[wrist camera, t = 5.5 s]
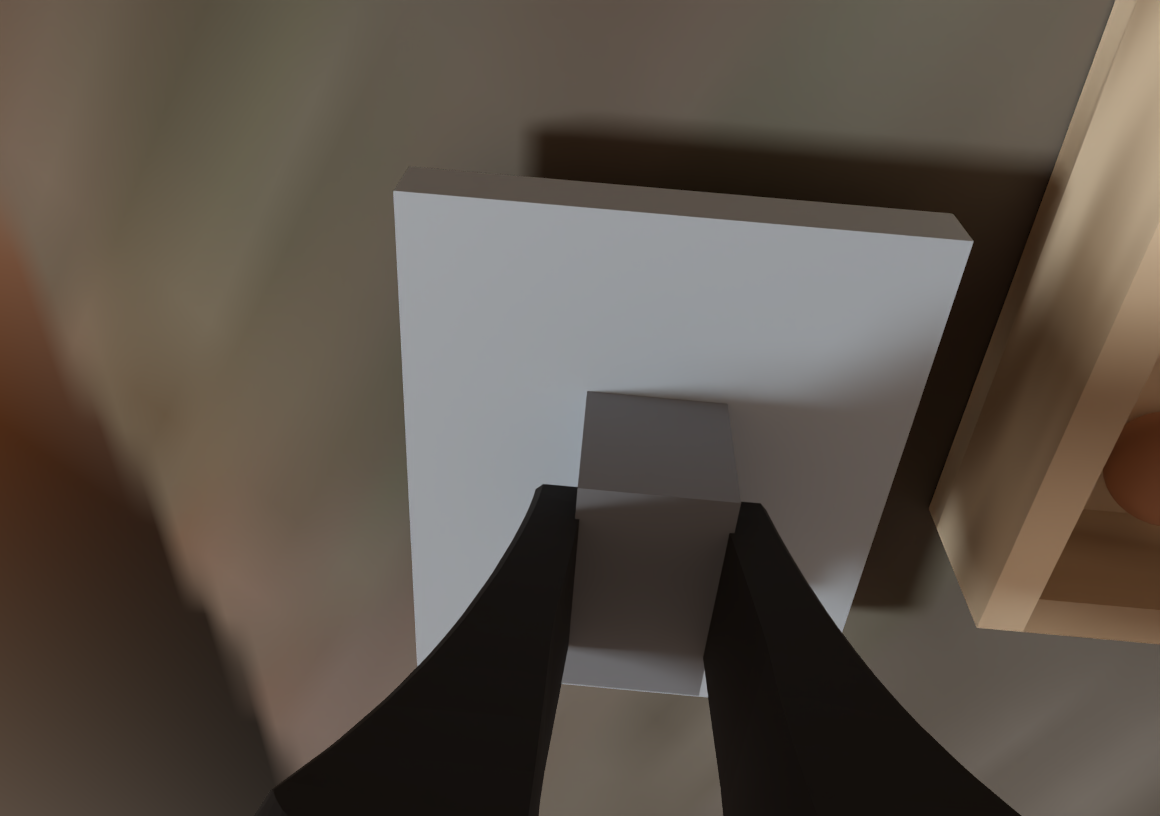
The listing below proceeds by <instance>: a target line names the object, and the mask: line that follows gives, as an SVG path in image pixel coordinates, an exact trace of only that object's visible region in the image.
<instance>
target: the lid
mask: <svg viewBox="0 0 1160 816" xmlns="http://www.w3.org/2000/svg"><path fill="white" fill-rule="evenodd" d="M393 193H394V213H395V233H396V253H397V272H398V292H399V312H400V332H401V352H402V372H403V392H404V412H405V431H406V451H407V471H408V491H409V511H410V531H411V551H412V571H413V590H414V610H415V630H416V650H417V667H418V666H419V665H420V664H421V662H422V661H423V660H424V659H425V658H426V657H427V656H428V655H429V654H430V653H431V652H432V650H433V649H434V648H435V647H436V646H437V645H438V644H439V642H440V641H441V640H442V639H443V638H444V637H445V635H446V634H447V633H448V632H449V631H450V629H451V628H452V627H453V626H454V625H455V623H456V622H457V621H458V620H459V618H460V617H461V616H462V614H463V613H464V612H465V610H466V609H467V608H468V606H469V605H470V604H471V602H472V601H473V599H474V598H475V597H476V595H477V594H478V593H479V591H480V590H481V588H482V587H483V586H484V584H485V583H486V581H487V580H488V579H489V577H490V576H491V574H492V573H493V571H494V569H495V568H496V566H497V564H498V563H499V561H500V560H501V558H502V556H503V555H504V553H505V552H506V550H507V548H508V547H509V545H510V543H511V542H512V540H513V538H514V536H515V534H516V533H517V531H518V529H519V527H520V525H521V523H522V521H523V519H524V517H525V515H526V513H527V511H528V508H529V506H530V504H531V501H532V499H533V496H534V493H535V489H537V488H538V487H540V486H541V485H542V484H550V485H561V486H572V487H578V489H577V501H576V513H575V519H579V530H578V542H577V553H576V565H575V577H574V588H573V600H572V611H571V623H570V635H569V646H568V651H567V656H566V662H565V667H564V672H563V677H562V683H561V684H570V685H580V686H591V687H602V688H613V689H623V690H634V691H645V692H656V693H666V694H677V695H688V696H698V697H708V692H707V685H706V677H705V670H704V662H703V655H704V650H705V646H706V641H707V636H708V632H709V627H710V622H711V618H712V613H713V608H714V604H715V599H716V594H717V589H718V585H719V580H720V575H721V571H722V566H723V561H724V557H725V552H726V547H727V543H728V538H729V533H735V529H736V524H737V519H738V515H739V510H740V506H741V502H752V503H761V504H762V506H763V507H764V508H765V509H766V510H767V512H768V514H769V516H770V518H771V520H772V522H773V524H774V526H775V528H776V529H777V531H778V533H779V535H780V537H781V539H782V540H783V542H784V544H785V546H786V547H787V549H788V551H789V553H790V554H791V556H792V558H793V559H794V561H795V563H796V564H797V566H798V568H799V569H800V571H801V573H802V574H803V576H804V577H805V579H806V581H807V582H808V584H809V585H810V587H811V588H812V590H813V591H814V593H815V594H816V596H817V597H818V599H819V600H820V602H821V603H822V605H823V606H824V608H825V609H826V611H827V612H828V614H829V615H830V617H831V618H832V620H833V621H834V622H835V624H836V625H837V627H838V628H839V629H840V631H841V632H842V631H843V628H844V625H845V622H846V619H847V616H848V613H849V610H850V607H851V604H852V601H853V598H854V595H855V592H856V589H857V586H858V583H859V580H860V578H861V575H862V572H863V569H864V566H865V563H866V560H867V557H868V554H869V551H870V548H871V545H872V542H873V539H874V536H875V533H876V530H877V527H878V524H879V521H880V518H881V515H882V512H883V509H884V506H885V503H886V500H887V497H888V494H889V491H890V488H891V485H892V482H893V480H894V477H895V474H896V471H897V468H898V465H899V462H900V459H901V456H902V453H903V450H904V447H905V444H906V441H907V438H908V435H909V432H910V429H911V426H912V423H913V420H914V417H915V414H916V411H917V408H918V405H919V402H920V399H921V396H922V393H923V390H924V387H925V385H926V382H927V379H928V376H929V373H930V370H931V367H932V364H933V361H934V358H935V355H936V352H937V349H938V346H939V343H940V340H941V337H942V334H943V331H944V328H945V325H946V322H947V319H948V316H949V313H950V310H951V307H952V304H953V301H954V298H955V295H956V292H957V289H958V287H959V284H960V281H961V278H962V275H963V272H964V269H965V266H966V263H967V260H968V257H969V254H970V251H971V248H972V245H973V242H974V241H973V240H972V238H971V237H970V236H969V234H968V233H967V232H966V230H965V229H964V228H963V226H962V225H961V224H960V222H959V221H958V220H957V218H956V217H955V216H954V214H951V213H940V212H928V211H917V210H905V209H894V208H882V207H871V206H859V205H848V204H836V203H825V202H813V201H802V200H790V199H779V198H767V197H756V196H744V195H733V194H721V193H710V192H698V191H687V190H675V189H664V188H652V187H641V186H629V185H618V184H606V183H595V182H583V181H572V180H561V179H549V178H538V177H526V176H515V175H503V174H492V173H480V172H469V171H457V170H446V169H434V168H423V167H411V166H409V167H408V169H407V170H406V172H405V173H404V175H403V177H402V178H401V180H400V181H399V183H398V184H397V186H396V187H395V189H394V191H393Z"/></svg>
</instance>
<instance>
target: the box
mask: <svg viewBox="0 0 1160 816" xmlns="http://www.w3.org/2000/svg"><path fill="white" fill-rule="evenodd" d="M929 511H930V514H931V516H932V519H933V521H934V524H935V526H936V528H937V531H938V533H939V536H940V538H941V541H942V543H943V546H944V548H945V551H946V553H947V556H948V558H949V561H950V563H951V565H952V568H953V570H954V573H955V575H956V578H957V580H958V583H959V585H960V588H961V590H962V593H963V595H964V598H965V600H966V602H967V605H968V607H969V610H970V612H971V615H972V617H973V620H974V622H975V625H976V627H977V628H985V629H996V630H1007V631H1019V632H1030V633H1041V634H1052V635H1063V636H1074V637H1085V638H1096V639H1107V640H1118V641H1130V642H1141V643H1152V644H1160V0H1115V3H1114V6H1113V9H1112V11H1111V14H1110V17H1109V19H1108V22H1107V25H1106V28H1105V30H1104V33H1103V36H1102V38H1101V41H1100V44H1099V47H1098V49H1097V52H1096V55H1095V58H1094V60H1093V63H1092V66H1091V68H1090V71H1089V74H1088V77H1087V79H1086V82H1085V85H1084V87H1083V90H1082V93H1081V96H1080V98H1079V101H1078V104H1077V106H1076V109H1075V112H1074V115H1073V117H1072V120H1071V123H1070V125H1069V128H1068V131H1067V134H1066V136H1065V139H1064V142H1063V145H1062V147H1061V150H1060V153H1059V155H1058V158H1057V161H1056V164H1055V166H1054V169H1053V172H1052V174H1051V177H1050V180H1049V183H1048V185H1047V188H1046V191H1045V193H1044V196H1043V199H1042V202H1041V204H1040V207H1039V210H1038V213H1037V215H1036V218H1035V221H1034V223H1033V226H1032V229H1031V232H1030V234H1029V237H1028V240H1027V242H1026V245H1025V248H1024V251H1023V253H1022V256H1021V259H1020V261H1019V264H1018V267H1017V270H1016V272H1015V275H1014V278H1013V280H1012V283H1011V286H1010V289H1009V291H1008V294H1007V297H1006V300H1005V302H1004V305H1003V308H1002V310H1001V313H1000V316H999V319H998V321H997V324H996V327H995V329H994V332H993V335H992V338H991V340H990V343H989V346H988V348H987V351H986V354H985V357H984V359H983V362H982V365H981V368H980V370H979V373H978V376H977V378H976V381H975V384H974V387H973V389H972V392H971V395H970V397H969V400H968V403H967V406H966V408H965V411H964V414H963V416H962V419H961V422H960V425H959V427H958V430H957V433H956V436H955V438H954V441H953V444H952V446H951V449H950V452H949V455H948V457H947V460H946V463H945V465H944V468H943V471H942V474H941V476H940V479H939V482H938V484H937V487H936V490H935V493H934V495H933V498H932V501H931V503H930V506H929Z"/></svg>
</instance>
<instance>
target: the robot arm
mask: <svg viewBox="0 0 1160 816" xmlns="http://www.w3.org/2000/svg"><path fill="white" fill-rule="evenodd" d="M577 489H578V487H572V486H561V485H550V484H542V485H541V486H540V487H538V488H537V489H535V493H534V496H533V499H532V501H531V504H530V506H529V508H528V511H527V513H526V515H525V517H524V519H523V521H522V523H521V525H520V527H519V529H518V531H517V533H516V534H515V536H514V538H513V540H512V542H511V543H510V545H509V547H508V548H507V550H506V552H505V553H504V555H503V556H502V558H501V560H500V561H499V563H498V564H497V566H496V568H495V569H494V571H493V573H492V574H491V576H490V577H489V579H488V580H487V581H486V583H485V584H484V586H483V587H482V588H481V590H480V591H479V593H478V594H477V595H476V597H475V598H474V599H473V601H472V602H471V604H470V605H469V606H468V608H467V609H466V610H465V612H464V613H463V614H462V616H461V617H460V618H459V620H458V621H457V622H456V623H455V625H454V626H453V627H452V628H451V629H450V631H449V632H448V633H447V634H446V635H445V637H444V638H443V639H442V640H441V641H440V642H439V644H438V645H437V646H436V647H435V648H434V649H433V650H432V652H431V653H430V654H429V655H428V656H427V657H426V658H425V659H424V660H423V661H422V662H421V664H420V665H419V666H418V667H417V668H416V669H415V670H414V671H413V672H412V673H411V674H410V675H409V676H408V677H407V678H406V679H405V680H404V681H403V682H402V683H401V684H400V685H399V686H398V687H397V688H396V689H395V690H394V691H393V692H392V693H391V694H390V695H389V696H388V697H387V698H386V699H385V700H384V701H382V702H381V703H380V704H379V705H378V706H377V707H376V708H375V709H373V710H372V711H371V712H370V713H369V714H368V715H366V716H365V717H364V718H363V719H362V720H361V721H359V722H358V723H357V724H356V725H355V726H354V727H353V728H351V729H350V730H349V731H348V732H347V733H346V734H344V735H343V736H342V737H341V738H340V739H339V740H337V741H336V742H335V743H334V744H332V745H331V746H330V747H329V748H327V749H326V750H325V751H323V752H322V753H321V754H319V755H318V756H317V757H315V758H314V759H312V760H311V761H310V762H308V763H307V764H306V765H304V766H303V767H302V768H300V769H299V770H297V771H296V772H295V773H293V774H292V775H291V776H289V777H288V778H287V779H285V780H284V781H282V782H281V783H280V784H278V785H277V786H275V787H274V788H273V789H271V790H270V792H269V793H268V795H267V796H266V798H265V799H264V801H263V802H262V804H261V806H260V807H259V809H258V810H257V812H256V813H255V815H254V816H538V815H539V805H540V797H541V791H542V784H543V777H544V771H545V766H546V760H547V755H548V750H549V745H550V740H551V734H552V729H553V724H554V719H555V714H556V709H557V703H558V698H559V693H560V688H561V683H562V677H563V672H564V667H565V662H566V656H567V651H568V646H569V635H570V623H571V611H572V600H573V588H574V577H575V565H576V553H577V542H578V530H579V519H575V513H576V501H577ZM703 662H704V670H705V677H706V685H707V692H708V700H709V707H710V714H711V721H712V729H713V736H714V743H715V750H716V758H717V765H718V772H719V779H720V786H721V796H722V807H723V816H1021V815H1020V814H1018V813H1017V812H1016V811H1015V810H1014V809H1012V808H1011V807H1010V806H1009V805H1007V804H1006V803H1005V802H1004V801H1003V800H1002V799H1000V798H999V797H998V796H997V795H996V794H994V793H993V792H992V791H991V790H990V789H988V788H987V787H986V786H985V785H984V784H983V783H981V782H980V781H979V780H978V779H977V778H975V777H974V776H973V775H972V774H971V773H970V772H969V771H968V770H967V769H965V768H964V767H963V766H962V765H961V764H960V763H959V762H958V761H957V760H956V759H955V758H954V757H953V756H952V755H950V754H949V753H948V752H947V751H946V750H945V749H944V748H943V747H942V746H941V745H940V744H939V743H938V742H937V741H936V740H935V739H934V738H933V737H932V736H931V735H930V734H929V733H928V732H927V731H926V730H924V729H923V728H922V727H921V726H920V725H919V724H918V723H917V722H916V721H915V719H914V718H913V717H912V716H911V715H910V714H909V713H908V712H907V711H906V710H905V709H904V708H903V707H902V706H901V705H900V704H899V702H898V701H897V700H896V699H895V698H894V697H893V696H892V694H891V693H890V692H889V691H888V690H887V689H886V688H885V686H884V685H883V684H882V683H881V682H880V681H879V680H878V678H877V677H876V676H875V675H874V673H873V672H872V671H871V670H870V669H869V667H868V666H867V665H866V664H865V662H864V661H863V660H862V659H861V657H860V656H859V655H858V654H857V652H856V651H855V650H854V648H853V647H852V646H851V644H850V643H849V642H848V640H847V639H846V638H845V636H844V635H843V633H842V632H841V631H840V629H839V628H838V627H837V625H836V624H835V622H834V621H833V620H832V618H831V617H830V615H829V614H828V612H827V611H826V609H825V608H824V606H823V605H822V603H821V602H820V600H819V599H818V597H817V596H816V594H815V593H814V591H813V590H812V588H811V587H810V585H809V584H808V582H807V581H806V579H805V577H804V576H803V574H802V573H801V571H800V569H799V568H798V566H797V564H796V563H795V561H794V559H793V558H792V556H791V554H790V553H789V551H788V549H787V547H786V546H785V544H784V542H783V540H782V539H781V537H780V535H779V533H778V531H777V529H776V528H775V526H774V524H773V522H772V520H771V518H770V516H769V514H768V512H767V510H766V509H765V508H764V507H763V506H762V504H761V503H752V502H741V506H740V510H739V515H738V519H737V524H736V529H735V533H729V538H728V543H727V547H726V552H725V557H724V561H723V566H722V571H721V575H720V580H719V585H718V589H717V594H716V599H715V604H714V608H713V613H712V618H711V622H710V627H709V632H708V636H707V641H706V646H705V650H704V655H703Z"/></svg>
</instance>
